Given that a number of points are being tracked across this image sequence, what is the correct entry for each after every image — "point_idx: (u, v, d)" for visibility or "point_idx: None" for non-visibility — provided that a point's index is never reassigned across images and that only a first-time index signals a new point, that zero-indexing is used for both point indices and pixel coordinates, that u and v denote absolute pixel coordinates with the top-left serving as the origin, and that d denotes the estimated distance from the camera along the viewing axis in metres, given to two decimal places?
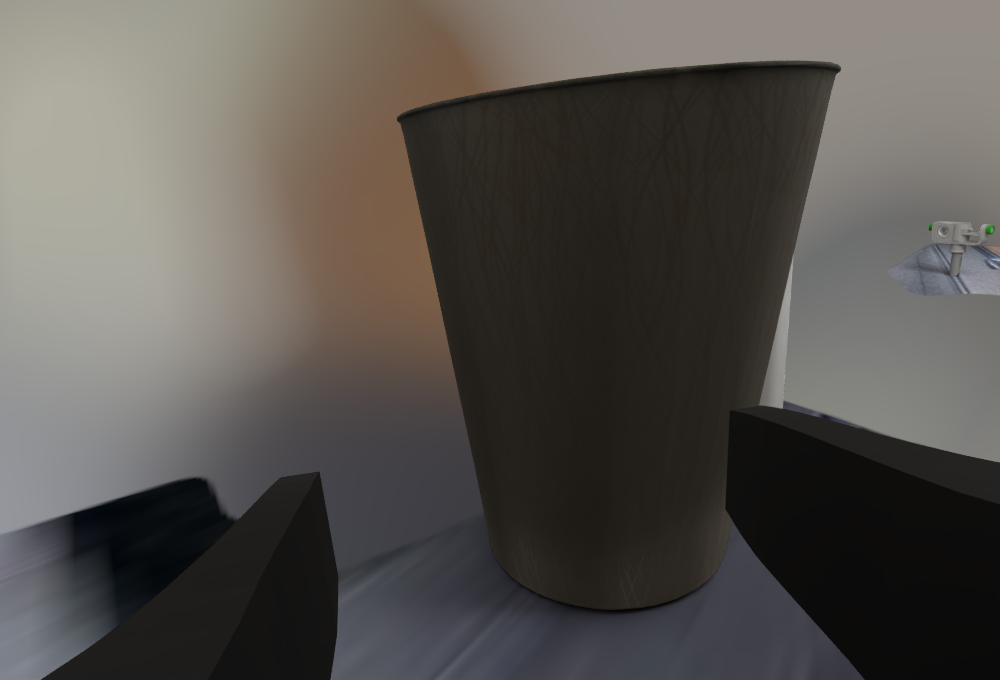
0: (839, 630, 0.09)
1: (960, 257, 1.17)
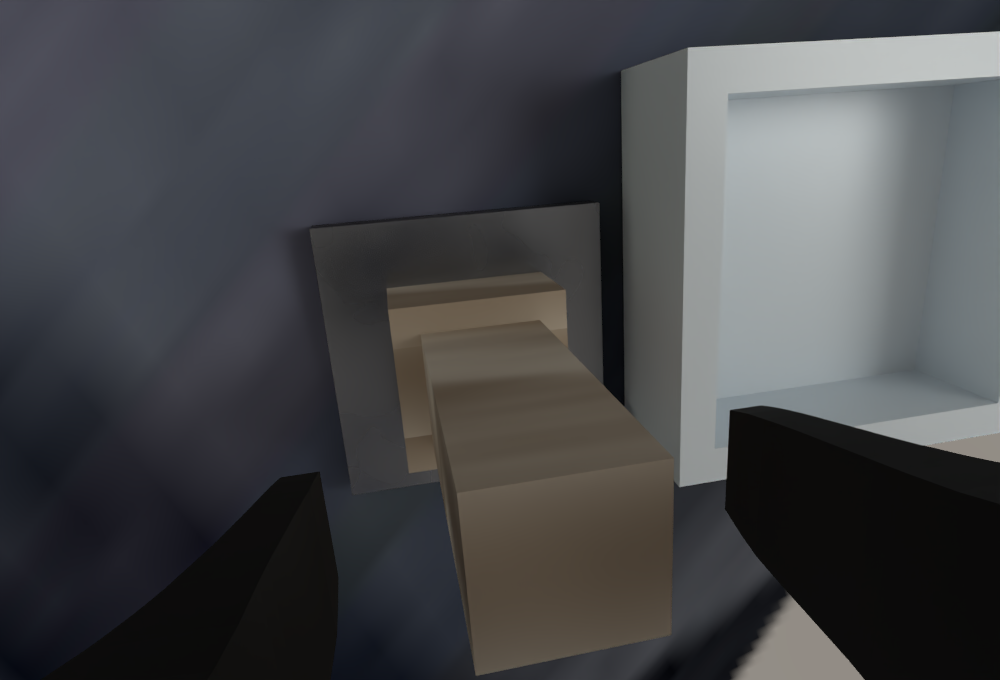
0: (839, 630, 0.09)
1: None
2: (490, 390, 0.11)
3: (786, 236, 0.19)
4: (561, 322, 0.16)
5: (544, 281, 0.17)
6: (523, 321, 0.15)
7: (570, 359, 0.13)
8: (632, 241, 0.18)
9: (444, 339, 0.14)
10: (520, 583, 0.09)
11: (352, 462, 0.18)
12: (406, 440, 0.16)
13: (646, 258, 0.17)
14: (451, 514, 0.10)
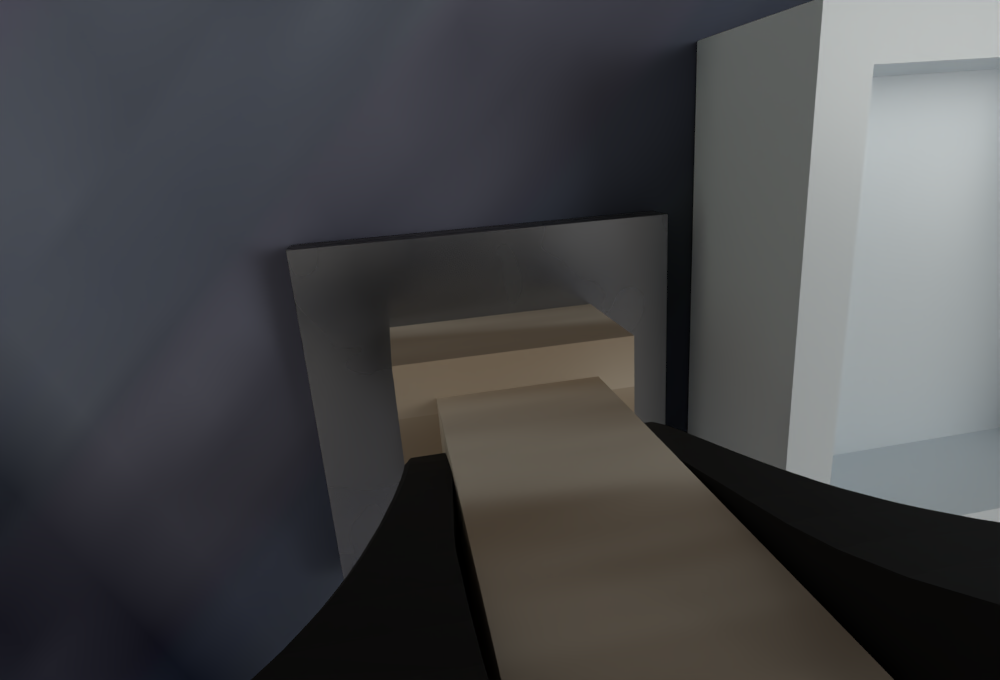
0: None
1: None
2: (555, 521, 0.07)
3: (902, 256, 0.15)
4: (627, 379, 0.12)
5: (599, 320, 0.12)
6: (576, 379, 0.11)
7: (664, 456, 0.08)
8: (707, 264, 0.14)
9: (470, 409, 0.10)
10: None
11: (345, 547, 0.14)
12: None
13: (731, 288, 0.13)
14: None
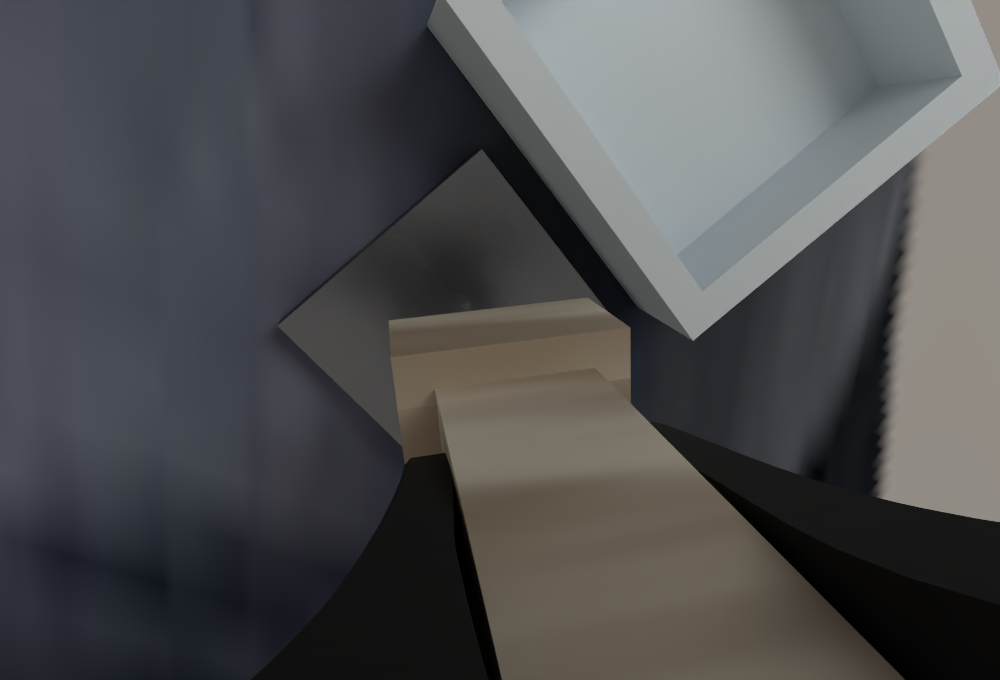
0: None
1: None
2: (550, 505, 0.07)
3: (666, 59, 0.18)
4: (623, 370, 0.12)
5: (596, 313, 0.13)
6: (573, 370, 0.11)
7: (659, 443, 0.09)
8: (532, 159, 0.18)
9: (468, 400, 0.10)
10: None
11: None
12: None
13: (548, 169, 0.18)
14: None
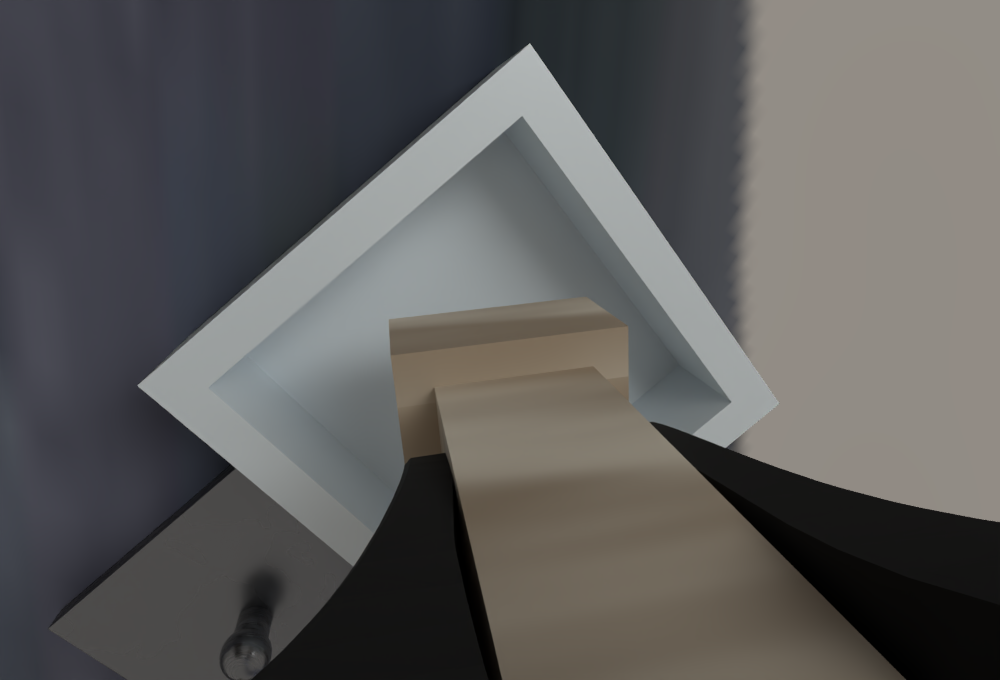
0: None
1: None
2: (548, 500, 0.07)
3: None
4: (621, 369, 0.12)
5: (595, 312, 0.13)
6: (571, 368, 0.12)
7: (656, 440, 0.09)
8: None
9: (467, 397, 0.11)
10: None
11: None
12: None
13: None
14: None
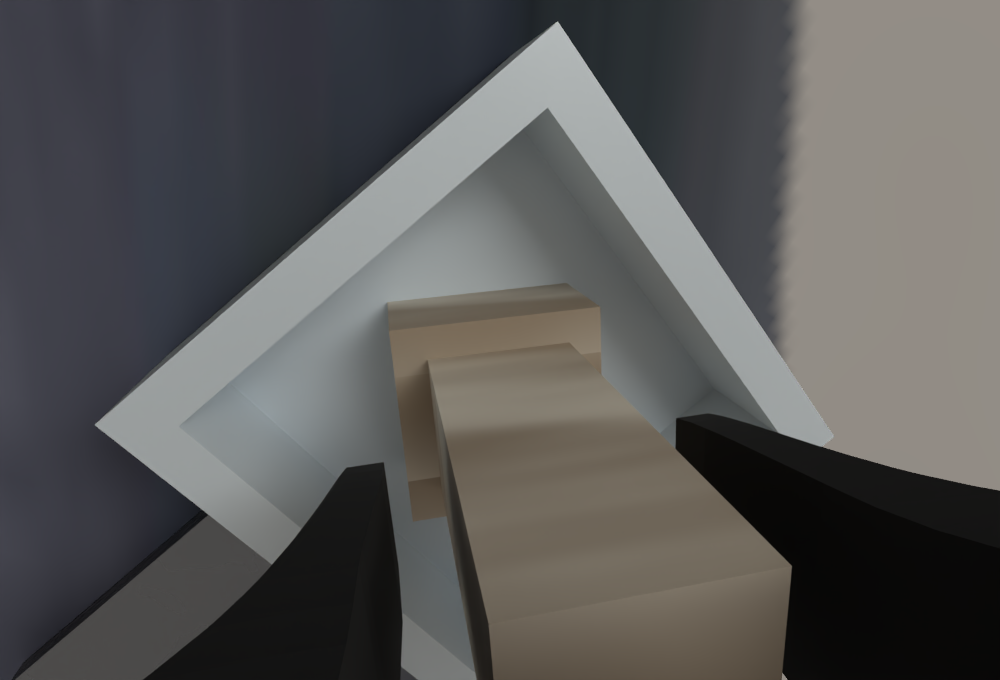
0: None
1: None
2: (520, 443, 0.09)
3: None
4: (594, 345, 0.13)
5: (572, 295, 0.14)
6: (549, 344, 0.13)
7: (616, 398, 0.10)
8: None
9: (456, 368, 0.12)
10: None
11: None
12: (410, 483, 0.13)
13: None
14: (471, 613, 0.08)
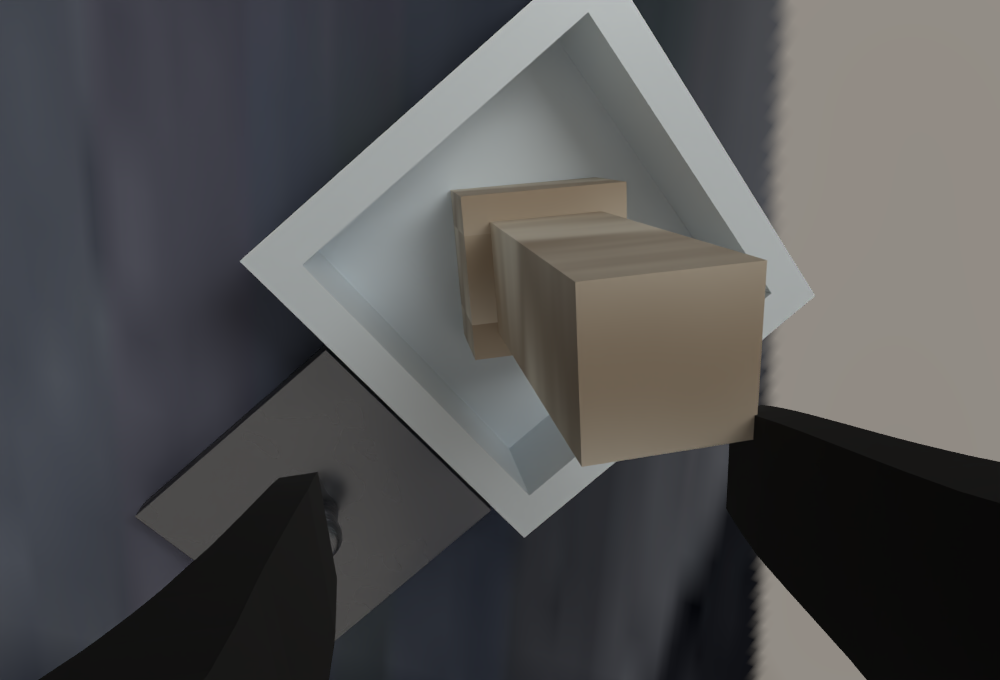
0: (841, 630, 0.09)
1: None
2: (575, 241, 0.12)
3: None
4: (621, 214, 0.16)
5: (602, 180, 0.17)
6: (586, 212, 0.16)
7: (643, 225, 0.13)
8: None
9: (515, 223, 0.15)
10: (626, 377, 0.09)
11: None
12: (473, 327, 0.17)
13: None
14: (546, 343, 0.11)
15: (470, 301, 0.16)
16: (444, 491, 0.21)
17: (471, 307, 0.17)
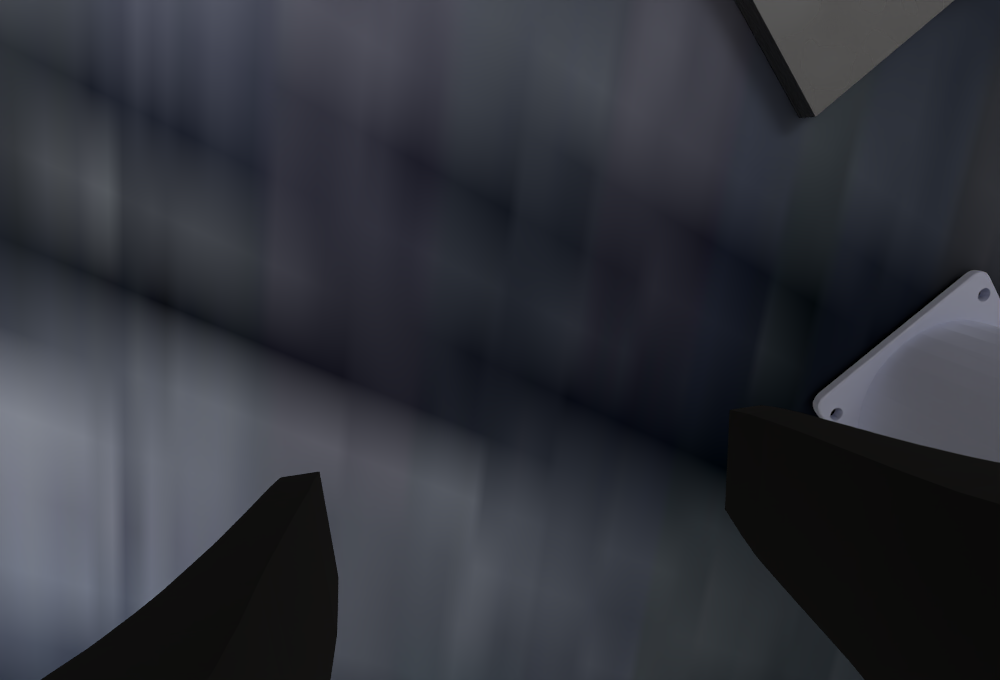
0: (839, 630, 0.09)
1: None
2: None
3: None
4: None
5: None
6: None
7: None
8: None
9: None
10: None
11: (803, 85, 0.19)
12: None
13: None
14: None
15: None
16: None
17: None
